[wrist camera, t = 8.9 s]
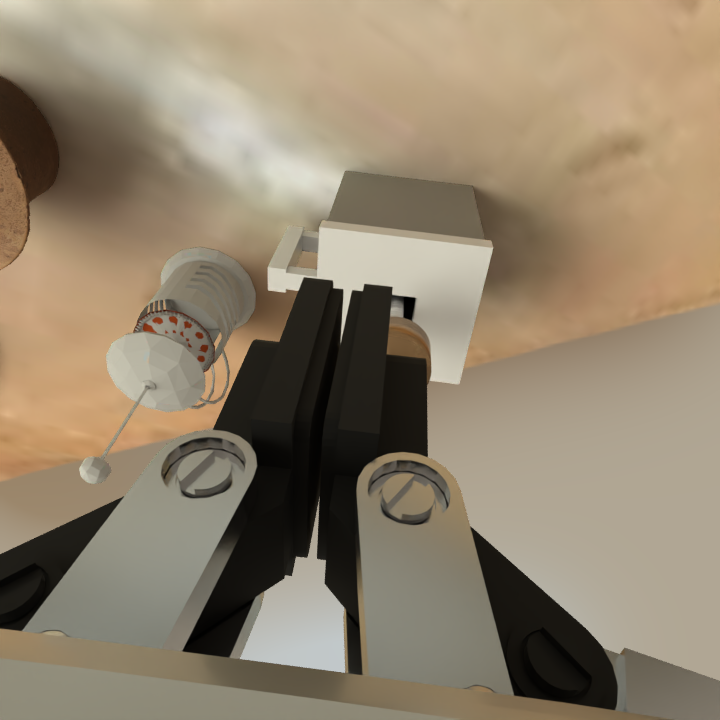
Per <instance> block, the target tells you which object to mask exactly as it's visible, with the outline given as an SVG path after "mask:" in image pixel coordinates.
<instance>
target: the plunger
mask: <svg viewBox="0 0 720 720" xmlns="http://www.w3.org/2000/svg"><path fill="white" fill-rule="evenodd" d="M403 308H404V296H398V295H392V301H391V312H390V323H389V334H388V345H387V354H390V355H399V356H408V357H417V358H426V361H427V384H428V382H429V380H430V377H431V345H430V340H429V338H428V336H427V334H426V332H425V331H424V330H423V329H422V328H421V327H420V326H419V325H418V324H416V323H415V322H413V321H411V320H408V319H406V318H403Z"/></svg>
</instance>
